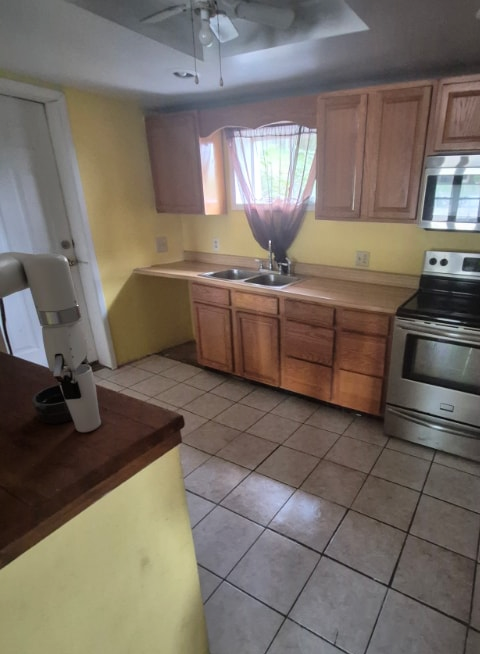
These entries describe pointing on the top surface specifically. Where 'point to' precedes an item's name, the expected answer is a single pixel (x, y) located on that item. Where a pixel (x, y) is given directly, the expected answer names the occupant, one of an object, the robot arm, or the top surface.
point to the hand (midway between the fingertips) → (79, 389)
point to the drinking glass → (84, 400)
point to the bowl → (51, 406)
